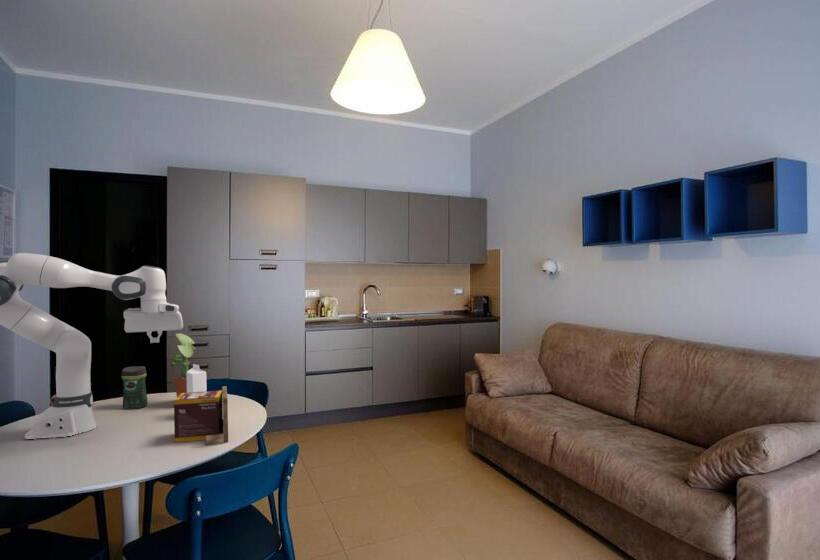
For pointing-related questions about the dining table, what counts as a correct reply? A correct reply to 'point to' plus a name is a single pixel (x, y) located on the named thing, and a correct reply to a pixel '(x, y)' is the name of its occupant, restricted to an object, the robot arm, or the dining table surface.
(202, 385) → the milk
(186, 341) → the potted plant
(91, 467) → the dining table surface
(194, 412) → the supplement box
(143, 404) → the coffee jar
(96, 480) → the dining table surface
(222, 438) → the display stand
